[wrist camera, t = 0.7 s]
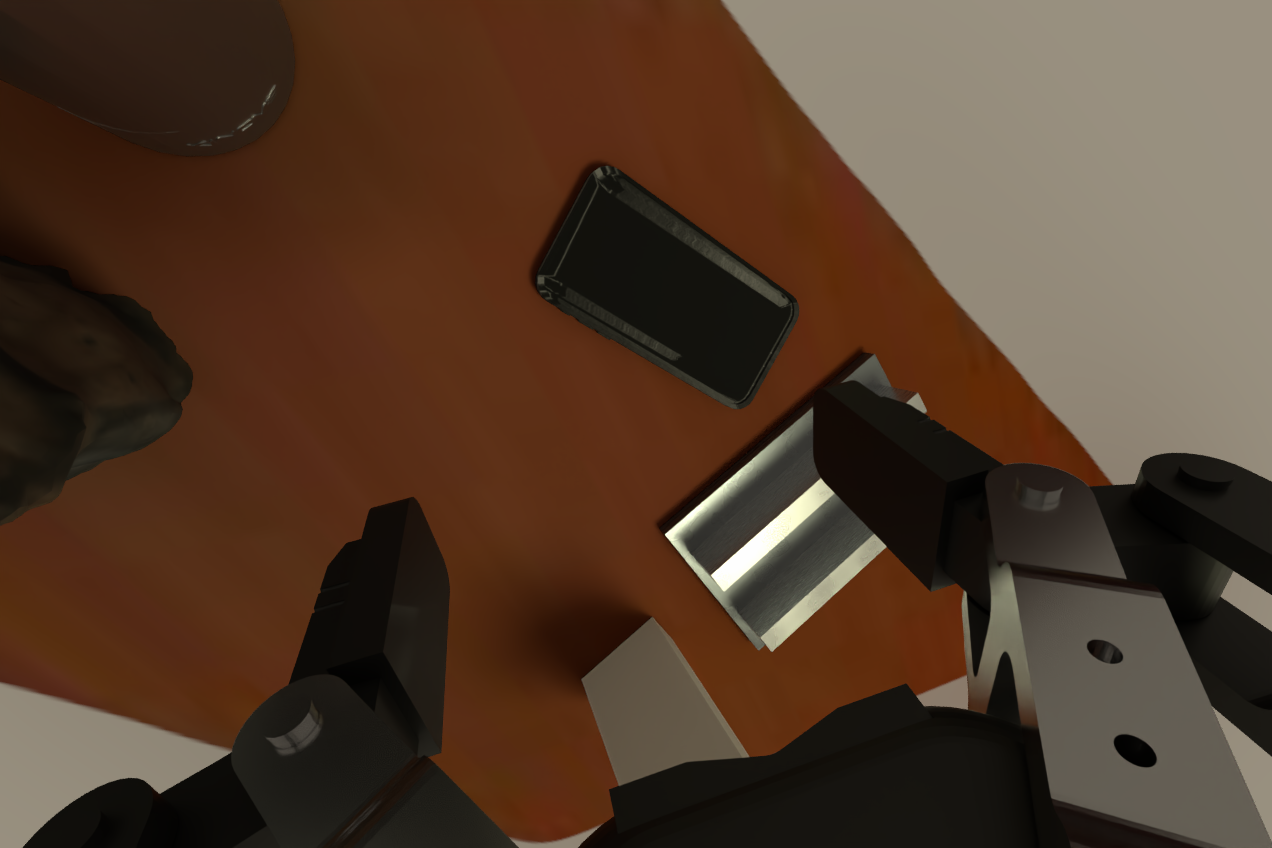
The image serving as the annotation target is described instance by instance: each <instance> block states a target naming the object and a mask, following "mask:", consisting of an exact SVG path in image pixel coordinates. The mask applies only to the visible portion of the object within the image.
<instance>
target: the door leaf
mask: <svg viewBox="0 0 1272 848" xmlns="http://www.w3.org/2000/svg"><path fill="white" fill-rule="evenodd" d="M581 680H582V683H583V686H584V688H585V691H586V694H587V697H588V700H589V702H590V705H591V708H592V711H593V714H594V717H595V719H596V722H597V725H598V728H599V731H600V734H601V736H602V739H603V742H604V745H605V748H606V750H607V753H608V756H609V759H610V762H611V765H612V767H613V770H614V773H615V776H616V779H617V782H618V784H619V786H620V785H623V784H626V783H629V782H631V781H634V780H637V779H640V778H643V777H645V776H648V775H651V774H654V773H657V772H660V771H662V770H665V769H668V768H671V767H674V766H676V765H679V764H682V763H685V762H692V761H705V760H718V759H731V758H745V757H749V755H748V754H747V752H746V751H745V749H744V748H743V746H742V745H741V743H740V742H739V740H738V738H737V737H736V735H735V734H734V732H733V731H732V729H731V728H730V726H729V725H728V723H727V722H726V720H725V719H724V717H723V716H722V714H721V713H720V711H719V710H718V708H717V706H716V705H715V703H714V702H713V700H712V699H711V697H710V696H709V694H708V693H707V691H706V690H705V688H704V687H703V685H702V684H701V682H700V681H699V679H698V678H697V676H696V675H695V673H694V671H693V670H692V668H691V667H690V665H689V664H688V662H687V661H686V659H685V658H684V656H683V655H682V653H681V652H680V650H679V649H678V647H677V646H676V644H675V643H674V641H673V640H672V638H671V637H670V636H669V635H668V634H667V633H666V632H665V631H664V629H663V628H662V627H661V626H660V625H659V624H658V623H657V622H656V620H655V619H654V618H653V617H652V618H650V619H649V620H648V621H647V622H646V623H645V624H644V625H642V626H641V627H640V628H639V629H638V630H637V631H636V632H635V633H633V634H632V635H631V636H630V637H629V638H628V639H627V640H625V641H624V642H623V643H622V644H621V645H620V646H619V647H617V648H616V649H615V650H614V651H613V652H612V653H611V654H610V655H608V656H607V657H606V658H605V659H604V660H603V661H602V662H600V663H599V664H598V665H597V666H596V667H595V668H594V669H592V670H591V671H590V672H589V673H588V674H587V675H586V676H585V677H583V678H582V679H581Z"/></svg>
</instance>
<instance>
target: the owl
mask: <svg viewBox="0 0 1272 848" xmlns="http://www.w3.org/2000/svg"><path fill="white" fill-rule="evenodd" d="M192 380H193V373H192V370H191V368H190V367H189V365H188V364H187V363H186V362H185V361H184V360H183V358H182V357H181V356H180V355H178V354H177V353H176V346H174V343H173V342H172V340H170V339H169V338H168V337H167V336H166V335H165V333H164V332H163V331H162V330H161V329H160V328H159V326H158V325H157V323H156V322H155V321H154V320H153V317H152V315H151V312H150V311H148V310H146V309H144V308H143V307H141V306H140V305H139V304H138V303H137V302H136V301H135V300H133V299H131V298H129V297H127V296H117V295H114V294H108V295H99V294H95V293H92V292H88V291H80V290H78V289H76V288H74V287H73V286H72V282H71V279H70V277H69V274H68V271H67V270H65V269H61V268H58V267H54V266H36V265H28V264H24V263H21V262H19V261H17V260H14V259H12V258H9V257H7V256H0V526H1V525H3V524H5V523H9V522H12V521H14V520H15V519H16V518H18V517H19V516H21V515H22V514H23V513H25V512H26V511H28V510H30V509H32V508H35V507H38V506H41V505H44V504H47V503H50V502H52V501H53V500H54V499H56V498H57V497H58V496H59V494H60V493H61V491H62V488H63V486H64V483H65V481H66V480H69V479H71V478H73V477H75V476H77V475H79V474H80V473H83V472H86V471H89V470H91V469H93V468H94V467H96V466H97V465H99V464H100V463H102V462H103V461H105V460H109V459H113V458H117V457H120V456H124V455H126V454H129V453H131V452H134V451H137V450H140V449H142V448H144V447H146V446H148V445H149V444H151V443H153V442H154V441H156V440H157V439H159V438H160V437H161V436H163V435H164V434H166V433H167V432H168V431H170V430H171V429H172V427H173V426H174V425H175V424H176V423H177V421H178V420H179V419H180V417H181V414H182V410H183V409H182V406H181V402H182V401H183V400H184V399H185V398H186V396H188V394H189V392H190V390H191V387H192Z"/></svg>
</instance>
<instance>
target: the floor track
mask: <svg viewBox="0 0 1272 848" xmlns="http://www.w3.org/2000/svg"><path fill="white" fill-rule="evenodd" d="M850 380H855V381H858V382H859V383H861V384H862V385H864V386H865V387H867V388H868V389H870V390H871V391H873V392H874V393H876V394H877V395H879V396H880V397H883V396H885V397H888V398H891V399H894V400H897V401H901V402H904V403H907V404H910V405H912V406H913V407H915V408H916V409H918V410H919V411H921V412H922V413H925V412H926V411H927V410H926V408H925V406H924V404H923V402H922V400H921V398H920V396H919V394H918V393H917V392H912V391H908V390H903V389H898V388H894V387H891V385H890V383H889V381H888V379H887V377H886V375H885V373H884V371H883V369H882V367H881V365H880V363H879V361H878V359H877V358H876V356H875V354H871V353H863V354H862V355H861V356H859V357H858V358H857V359H856V360H855V361H854V362H852V363H851V364H850V365H849V366H848V367H847V368H845V369H844V370H843V371H842V372H841V373H840V374H838V375H837V376H836V377H835V378H834V379H833V380H831V381H830V382H829V383H828V384H827V385H826V386H824V387H828V386H832V385H836V384H839V383H843V382H847V381H850ZM824 387H823V388H824ZM813 398H814V396H813V397H812V398H811V399H809V400H808V401H807V402H806V403H805V404H804V405H802V406H801V407H800V408H799V409H798V410H797V411H795V412H794V413H793V414H792V415H791V416H790V417H788V418H787V419H786V420H785V421H784V422H783V423H781V424H780V425H779V426H778V427H777V428H776V429H774V430H773V431H772V432H771V433H770V434H769V435H767V436H766V437H765V438H764V439H763V440H762V441H760V442H759V443H758V444H757V445H756V446H755V447H753V448H752V449H751V450H750V451H749V452H748V453H746V454H745V455H744V456H743V457H742V458H741V459H739V460H738V461H737V462H736V463H735V464H734V465H732V466H731V467H730V468H729V469H728V470H727V471H725V472H724V473H723V474H722V475H721V476H720V477H718V478H717V479H716V480H715V481H714V482H713V483H711V484H710V485H709V486H708V487H707V488H706V489H705V490H703V491H702V492H701V493H700V494H699V495H698V496H696V497H695V498H694V499H693V500H692V501H691V502H689V503H688V504H687V505H686V506H685V507H684V508H682V509H681V510H680V511H679V512H678V513H677V514H675V515H674V516H673V517H672V518H671V519H670V520H668V521H667V522H666V523H665V524H664V525H663V526H661V527H660V528H659V529H660V530H661V531H662V532H663V533H664V535H665V536H666V537H667V538H668V540H669V541H670V542H671V543H672V545H673V546H674V547H675V548H676V550H677V551H678V552H679V553H680V555H681V556H682V557H683V558H684V559H685V561H686V562H687V563H688V564H689V566H690V567H691V568H692V569H693V571H694V572H695V573H696V574H697V576H698V577H699V578H700V579H701V581H702V582H703V583H704V584H705V585H706V587H707V588H708V589H709V590H710V592H711V593H712V594H713V595H714V597H715V598H716V599H717V600H718V602H719V603H720V604H721V605H722V607H723V608H724V609H725V610H726V611H727V613H728V614H729V615H730V616H731V618H732V619H733V620H734V621H735V623H736V624H737V625H738V626H739V628H740V629H741V630H742V631H743V633H744V634H745V635H746V636H747V637H748V639H749V640H750V641H751V642H752V644H753V645H754V646H755V647H756V648H757V649H758V650H760V649H761V648H762V647H763V646H764V645H766V646H767V647H768V648H769V649H770V650H771V652H772V651H773V650H774V649H776V648H777V647H778V646H779V645H780V644H781V643H782V642H783V641H784V640H785V639H786V638H787V637H789V636H790V635H791V634H792V633H793V632H794V631H795V630H796V629H797V628H798V627H799V626H801V625H802V624H803V623H804V622H805V621H806V620H807V619H808V618H809V617H810V616H811V615H813V614H814V613H815V612H816V611H817V610H818V609H819V608H820V607H821V606H822V605H823V604H825V603H826V602H827V601H828V600H829V599H830V598H831V597H832V596H833V595H834V594H835V593H837V592H838V591H839V590H840V589H841V588H842V587H843V586H844V585H845V584H846V583H847V582H849V581H850V580H851V579H852V578H853V577H854V576H855V575H856V574H857V573H858V572H859V571H861V570H862V569H863V568H864V567H865V566H866V565H867V564H868V563H869V562H870V561H871V560H872V559H874V558H875V557H876V556H877V555H878V554H879V553H880V552H881V551H882V550H883V549H884V548H886V547H887V546H886V545H885V544H884V543H883V542H882V541H881V540H880V539H879V538H878V537H877V536H876V535H875V534H874V533H873V532H872V531H871V530H870V529H869V528H868V527H867V526H866V525H865V524H864V523H863V522H862V521H861V520H860V519H859V518H858V517H857V516H856V515H855V514H854V513H853V512H852V511H851V510H850V509H849V507H848V506H847V505H846V504H845V503H844V502H843V501H842V500H841V499H840V498H839V497H838V496H837V495H836V494H835V493H834V492H833V491H832V490H831V489H830V488H829V487H828V486H827V485H826V484H825V483H824V482H823V480H822V479H821V477H820V476H819V474H818V472H817V469H816V466H815V463H814V458H813Z"/></svg>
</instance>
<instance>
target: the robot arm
mask: <svg viewBox="0 0 1272 848" xmlns="http://www.w3.org/2000/svg"><path fill="white" fill-rule="evenodd" d="M294 68H295V57H294V49H293V42H292V35H291V32H290V29H289V26H288V24H287V21H286V18H285V15H284V12H283V9H282V8H281V6H280V4H279V2H278V0H0V79H1V80H3V81H5V82H7V83H9V84H11V85H13V86H15V87H17V88H19V89H22V90H24V91H26V92H28V93H30V94H32V95H34V96H36V97H38V98H40V99H42V100H45V101H47V102H49V103H51V104H53V105H55V106H57V107H59V108H61V109H63V110H65V111H67V112H69V113H71V114H73V115H75V116H77V117H79V118H81V119H84V120H86V121H88V122H90V123H92V124H94V125H96V126H98V127H100V128H102V129H105V130H107V131H109V132H111V133H113V134H115V135H117V136H119V137H121V138H123V139H125V140H128V141H130V142H132V143H135V144H138V145H141V146H144V147H146V148H149V149H152V150H155V151H158V152H163V153H169V154H176V155H182V156H212V155H217V154H221V153H225V152H229V151H233V150H237V149H239V148H241V147H243V146H245V145H247V144H249V143H251V142H253V141H255V140H257V139H258V138H259V137H260V136H261V135H263V134H264V133H265V132H266V131H267V130H268V129H269V128H270V127H271V126H273V125H274V123H275V122H276V120H277V119H278V117H279V116H280V114H281V113H282V111H283V110H284V108H285V107H286V104H287V101H288V98H289V95H290V92H291V89H292V86H293V80H294ZM813 458H814V463H815V466H816V469H817V472H818V474H819V476H820V477H821V479H822V480H823V482H824V483H825V484H826V485H827V486H828V487H829V488H830V489H831V490H832V491H833V492H834V493H835V494H836V495H837V496H838V497H839V498H840V499H841V500H842V501H843V502H844V503H845V504H846V505H847V506H848V507H849V509H850V510H851V511H852V512H853V513H854V514H855V515H856V516H857V517H858V518H859V519H860V520H861V521H862V522H863V523H864V524H865V525H866V526H867V527H868V528H869V529H870V530H871V531H872V532H873V533H874V534H875V535H876V536H877V537H878V538H879V539H880V540H881V541H882V542H883V543H884V544H885V545H886V546H887V547H888V549H889V550H890V551H891V552H892V553H893V554H894V555H895V556H896V557H897V558H898V559H899V560H900V561H901V562H902V563H903V564H904V565H905V566H906V567H907V568H908V569H909V570H910V571H911V572H912V573H913V574H914V575H915V576H916V577H917V578H918V579H919V580H920V581H921V582H922V583H923V584H924V585H925V586H926V587H927V589H928V590H929V591H930V592H932V591H935V590H938V589H941V588H944V587H947V586H950V585H953V584H956V583H957V584H958V585H959V586H960V587H961V588H962V589H963V590H964V593H963V599H962V615H963V628H964V642H965V655H966V668H967V681H968V710H966V709H960V708H953V707H939V706H938V707H936V706H926V707H925V706H923V705H922V703H921V702H920V701H919V700H918V698H917V697H916V695H915V694H914V693H913V691H912V690H911V689H910V688H909V686H908V685H907V684H904V685H901V686H898V687H895V688H892V689H890V690H887V691H884V692H881V693H878V694H875V695H873V696H870V697H867V698H864V699H861V700H859V701H856V702H853V703H850V704H847V705H845V706H842V707H839V708H837V709H836V710H834V711H833V712H832V713H830V714H829V715H827V716H826V717H825V718H823V719H822V720H821V721H819V722H818V723H817V724H815V725H814V726H813V727H811V728H810V729H808V730H807V731H806V732H804V733H803V734H802V735H800V736H799V737H798V738H796V739H795V740H794V741H792V742H791V743H789V744H788V745H787V746H785V747H784V748H783V749H781V750H780V751H778V752H777V753H774V754H772V755H767V756H758V757H745V758H731V759H718V760H705V761H692V762H685V763H682V764H679V765H676V766H674V767H671V768H668V769H665V770H662V771H660V772H657V773H654V774H651V775H648V776H645V777H643V778H640V779H637V780H634V781H631V782H629V783H626V784H623V785H620V786H617V787H615V788H612V789H609V792H610V797H611V802H612V807H613V812H614V817H612V818H611V819H610V820H608V821H607V822H605V823H604V824H603V825H601V826H600V827H599V828H598V829H597V830H596V831H594V832H593V833H592V834H591V835H590V836H589V837H588V838H587V839H586V840H585V841H584V842H583V843H582V844H581V845H580V846H579V847H578V848H1272V842H1271V839H1270V837H1269V835H1268V833H1267V831H1266V828H1265V826H1264V824H1263V821H1262V819H1261V817H1260V814H1259V812H1258V810H1257V808H1256V805H1255V803H1254V801H1253V799H1252V796H1251V794H1250V792H1249V789H1248V787H1247V785H1246V783H1245V780H1244V778H1243V776H1242V774H1241V772H1240V769H1239V767H1238V765H1237V762H1236V760H1235V758H1234V756H1233V754H1232V751H1231V749H1230V746H1229V744H1228V742H1227V740H1226V738H1225V735H1224V733H1223V731H1222V729H1221V726H1220V724H1219V721H1218V719H1217V717H1216V715H1215V712H1214V710H1213V708H1212V707H1214V708H1215V709H1216V710H1217V711H1218V712H1219V713H1221V714H1222V715H1223V716H1224V717H1225V718H1227V719H1228V720H1229V721H1230V722H1231V723H1232V724H1234V725H1235V726H1236V727H1237V728H1239V729H1240V730H1241V731H1242V732H1243V733H1244V734H1245V735H1247V736H1248V737H1249V738H1250V739H1251V740H1253V741H1254V742H1255V743H1256V744H1257V745H1258V746H1260V747H1261V748H1262V749H1263V750H1264V751H1266V752H1267V753H1268V754H1269V755H1270V756H1272V632H1271V631H1270V630H1269V629H1267V628H1266V627H1264V626H1263V625H1261V624H1260V623H1258V622H1257V621H1255V620H1254V619H1252V618H1251V617H1249V616H1248V615H1247V614H1245V613H1244V612H1242V611H1241V610H1239V609H1238V608H1236V607H1235V606H1233V605H1232V604H1230V603H1229V602H1227V601H1226V600H1224V599H1223V598H1221V597H1220V596H1221V594H1222V592H1223V590H1224V588H1225V586H1226V584H1227V582H1228V581H1229V578H1230V577H1231V575H1232V572H1233V571H1235V572H1236V573H1238V574H1240V575H1241V576H1242V577H1244V578H1246V579H1247V580H1249V581H1250V582H1252V583H1254V584H1255V585H1257V586H1258V587H1260V588H1261V589H1263V590H1265V591H1266V592H1268V593H1269V594H1271V595H1272V482H1271V481H1269V480H1267V479H1265V478H1263V477H1261V476H1259V475H1257V474H1255V473H1253V472H1251V471H1249V470H1246V469H1244V468H1242V467H1240V466H1237V465H1235V464H1232V463H1229V462H1227V461H1224V460H1220V459H1217V458H1212V457H1208V456H1203V455H1197V454H1188V453H1166V454H1160V455H1155V456H1153V457H1150V458H1148V459H1147V460H1145V461H1144V462H1143V464H1142V467H1141V469H1140V472H1139V475H1138V478H1137V480H1136V483H1135V484H1128V485H1109V486H1092V487H1089V486H1088V485H1087V484H1085V483H1084V482H1083V481H1082V480H1080V479H1079V478H1077V477H1075V476H1074V475H1071V474H1069V473H1067V472H1065V471H1062V470H1060V469H1057V468H1053V467H1050V466H1045V465H1040V464H1032V463H1013V464H1006V465H1003V464H1002V463H1000V462H998V461H997V460H995V459H994V458H992V457H991V456H989V455H988V454H986V453H985V452H983V451H981V450H980V449H978V448H977V447H975V446H974V445H972V444H971V443H969V442H967V441H966V440H964V439H963V438H961V437H960V436H958V435H957V434H955V433H953V432H952V431H950V430H949V431H947V430H946V427H944V426H943V425H941V424H939V423H938V422H936V421H935V420H930V417H929V416H927V415H926V414H924V413H922V412H921V411H919V410H918V409H916V408H915V407H913V406H912V405H910V404H907V403H904V402H901V401H897V400H894V399H891V398H888V397H885V396H883V397H880V396H879V395H877V394H876V393H874V392H873V391H871V390H870V389H868V388H867V387H865V386H864V385H862V384H861V383H859V382H858V381H855V380H850V381H847V382H843V383H839V384H836V385H832V386H828V387H824V388H821V389H818V390H817V391H816V392H815V394H814V398H813ZM320 590H321V593H320V594H318V597H317V600H316V603H315V606H314V610H315V613H312V615H311V619H310V622H309V625H308V628H307V631H306V634H305V637H304V640H303V643H302V646H301V649H300V652H299V655H298V658H297V661H296V664H295V667H294V670H293V673H292V676H291V679H290V682H289V685H288V686H286V687H284V688H282V689H281V690H279V691H278V692H276V693H275V694H273V695H272V696H271V697H269V698H268V699H267V700H266V701H265V702H264V703H262V704H261V705H260V706H259V707H258V708H257V709H256V710H255V711H254V712H253V714H252V715H251V716H250V717H249V718H248V720H247V721H246V722H245V724H244V725H243V727H242V728H241V730H240V732H239V733H238V735H237V737H236V739H235V742H234V745H233V748H232V752H231V753H230V754H228V755H227V756H225V757H223V758H222V759H220V760H218V761H216V762H215V763H213V764H211V765H210V766H208V767H206V768H204V769H202V770H201V771H199V772H197V773H195V774H194V775H192V776H190V777H189V778H187V779H185V780H184V781H181V782H180V783H178V784H176V785H175V786H173V787H171V788H169V789H167V790H166V791H164V792H162V793H161V794H159V793H158V792H156V791H155V790H154V789H153V788H152V787H151V786H150V785H149V784H148V783H146V782H145V781H144V780H141V779H138V778H126V779H120V780H116V781H113V782H109V783H107V784H105V785H102V786H100V787H97V788H95V789H94V790H92V791H90V792H88V793H86V794H84V795H83V796H81V797H80V798H78V799H76V800H75V801H73V802H72V803H71V804H69V805H68V806H66V807H65V808H64V809H62V810H61V811H60V812H59V813H58V814H56V815H55V816H54V817H53V818H51V819H50V820H49V821H48V822H47V823H46V824H45V825H44V826H43V827H42V828H40V829H39V830H38V831H37V832H36V833H35V834H34V835H33V837H32V838H31V839H30V840H29V841H28V842H27V843H26V844H25V845H24V846H23V848H519V847H518V846H516V845H515V843H514V842H513V841H512V840H511V839H510V838H509V837H508V836H507V835H506V834H505V833H504V832H503V831H502V830H501V829H500V828H499V827H498V826H497V825H496V824H495V823H494V822H493V821H492V820H491V819H490V818H489V817H488V816H487V815H486V814H485V813H484V812H483V811H482V810H481V809H480V808H479V807H478V806H477V805H476V804H475V803H474V802H473V801H472V800H471V799H470V798H469V797H468V796H467V795H466V794H465V793H464V792H463V791H462V790H461V789H460V788H459V787H458V786H457V785H456V784H455V783H454V782H453V781H452V780H451V779H450V778H449V777H448V776H447V775H446V774H445V773H444V772H443V771H442V770H441V769H440V768H439V767H438V766H437V765H436V764H435V763H434V762H433V761H432V760H431V759H429V758H428V757H430V756H433V755H436V754H439V753H441V748H442V729H443V710H444V691H445V672H446V653H447V634H448V615H449V596H450V586H449V578H448V573H447V568H446V565H445V562H444V559H443V557H442V554H441V552H440V550H439V547H438V545H437V543H436V541H435V538H434V536H433V534H432V532H431V529H430V527H429V525H428V522H427V520H426V518H425V516H424V513H423V511H422V509H421V507H420V505H419V503H418V501H417V500H416V499H415V498H414V497H411V498H407V499H403V500H399V501H396V502H392V503H388V504H385V505H381V506H377V507H373V508H371V509H370V510H369V513H368V516H367V520H366V524H365V527H364V531H363V535H362V538H361V539H359V540H356V541H352V542H348V543H346V544H345V545H344V547H343V548H342V549H341V550H340V552H339V553H338V554H337V555H336V557H335V558H334V559H333V560H332V562H331V563H330V564H329V565H328V567H327V570H326V573H325V576H324V579H323V582H322V585H321V588H320Z"/></svg>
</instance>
